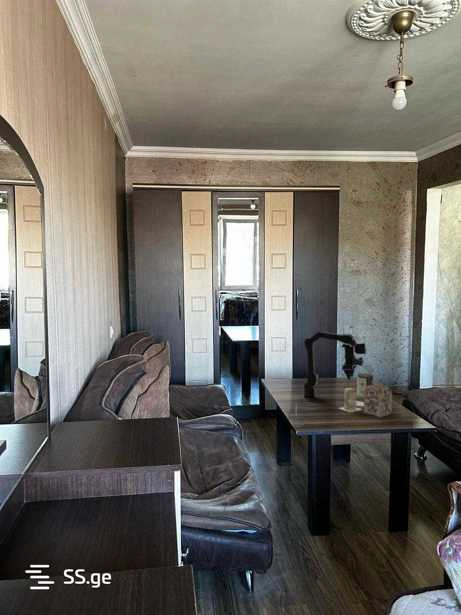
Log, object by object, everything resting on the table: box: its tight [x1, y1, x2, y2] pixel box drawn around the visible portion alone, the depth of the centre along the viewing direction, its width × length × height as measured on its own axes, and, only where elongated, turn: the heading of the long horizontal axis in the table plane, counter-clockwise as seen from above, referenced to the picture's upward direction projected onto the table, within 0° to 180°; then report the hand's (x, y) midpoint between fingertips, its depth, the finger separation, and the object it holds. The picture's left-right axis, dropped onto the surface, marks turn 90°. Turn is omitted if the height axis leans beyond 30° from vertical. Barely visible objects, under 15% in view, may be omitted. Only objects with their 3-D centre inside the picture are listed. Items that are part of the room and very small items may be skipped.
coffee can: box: [356, 373, 374, 398], centre depth 303 cm, size 10×10×14 cm
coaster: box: [356, 400, 364, 408], centre depth 284 cm, size 9×9×1 cm
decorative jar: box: [363, 381, 393, 418], centre depth 265 cm, size 12×12×18 cm
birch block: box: [343, 387, 358, 411], centre depth 273 cm, size 5×5×12 cm
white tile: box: [338, 406, 363, 413], centre depth 273 cm, size 10×10×1 cm
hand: (350, 378), depth 290 cm, fingers open, 9 cm apart
